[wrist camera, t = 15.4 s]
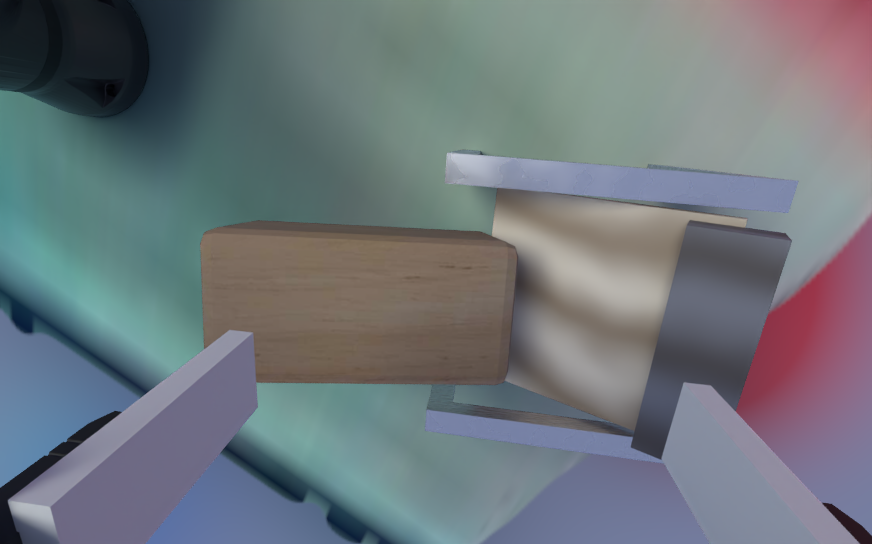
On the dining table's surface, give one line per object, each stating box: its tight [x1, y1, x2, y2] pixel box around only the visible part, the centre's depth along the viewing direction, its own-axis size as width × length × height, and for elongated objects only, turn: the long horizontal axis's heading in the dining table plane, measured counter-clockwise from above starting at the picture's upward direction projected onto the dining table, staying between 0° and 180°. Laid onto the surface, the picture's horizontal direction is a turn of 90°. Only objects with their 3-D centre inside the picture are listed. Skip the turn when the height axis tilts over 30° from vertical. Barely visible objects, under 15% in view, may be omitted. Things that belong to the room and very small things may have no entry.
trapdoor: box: [492, 188, 792, 460], centre depth 32 cm, size 17×19×4 cm
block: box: [200, 220, 518, 385], centre depth 32 cm, size 10×10×20 cm
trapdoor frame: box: [425, 150, 798, 464], centre depth 40 cm, size 22×22×20 cm
